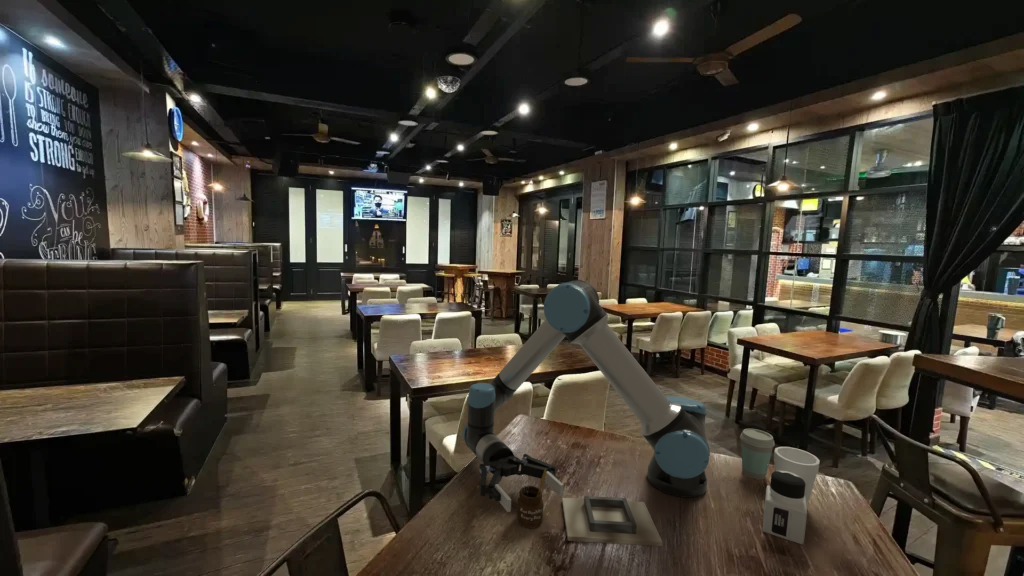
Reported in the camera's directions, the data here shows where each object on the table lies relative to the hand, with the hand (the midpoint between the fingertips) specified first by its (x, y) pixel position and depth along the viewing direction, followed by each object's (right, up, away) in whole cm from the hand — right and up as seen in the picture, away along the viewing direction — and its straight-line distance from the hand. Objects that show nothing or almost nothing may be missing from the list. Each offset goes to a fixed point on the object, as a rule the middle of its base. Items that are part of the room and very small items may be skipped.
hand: (536, 498), depth 95 cm
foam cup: (+65, -8, +13) cm, 67 cm away
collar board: (+17, -7, +3) cm, 18 cm away
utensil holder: (-1, -7, +3) cm, 8 cm away
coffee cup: (+63, -7, +27) cm, 69 cm away
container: (+57, -9, +3) cm, 57 cm away
